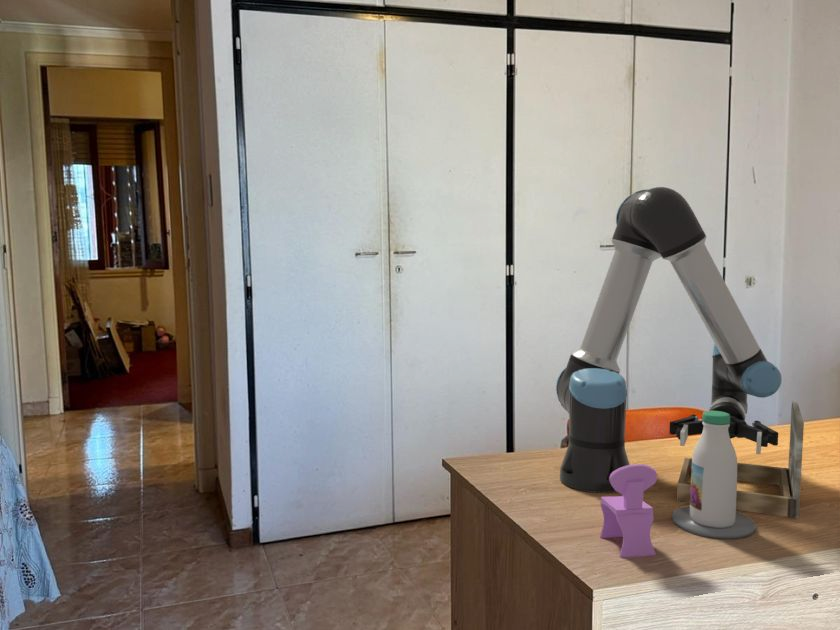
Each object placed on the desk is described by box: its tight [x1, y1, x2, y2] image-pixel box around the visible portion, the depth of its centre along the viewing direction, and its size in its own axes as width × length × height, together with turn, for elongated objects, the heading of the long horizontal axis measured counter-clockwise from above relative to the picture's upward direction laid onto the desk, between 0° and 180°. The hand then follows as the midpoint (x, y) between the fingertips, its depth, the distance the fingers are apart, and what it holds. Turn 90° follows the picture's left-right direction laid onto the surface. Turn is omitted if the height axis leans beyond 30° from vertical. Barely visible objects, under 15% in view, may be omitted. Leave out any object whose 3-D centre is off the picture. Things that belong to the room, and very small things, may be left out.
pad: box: [671, 505, 756, 540], centre depth 134 cm, size 14×14×1 cm
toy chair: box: [599, 463, 658, 558], centre depth 124 cm, size 8×9×15 cm
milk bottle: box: [689, 410, 738, 528], centre depth 132 cm, size 8×8×20 cm
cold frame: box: [676, 400, 805, 519], centre depth 149 cm, size 22×20×18 cm
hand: (719, 443), depth 141 cm, fingers open, 13 cm apart
